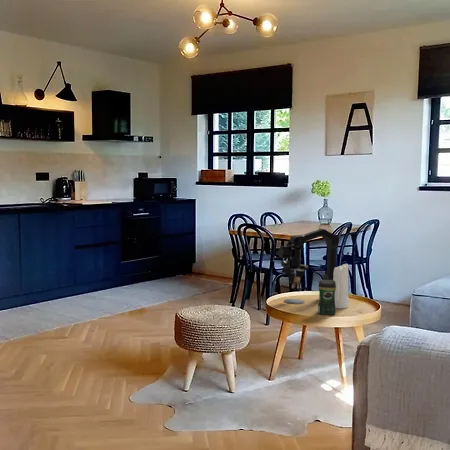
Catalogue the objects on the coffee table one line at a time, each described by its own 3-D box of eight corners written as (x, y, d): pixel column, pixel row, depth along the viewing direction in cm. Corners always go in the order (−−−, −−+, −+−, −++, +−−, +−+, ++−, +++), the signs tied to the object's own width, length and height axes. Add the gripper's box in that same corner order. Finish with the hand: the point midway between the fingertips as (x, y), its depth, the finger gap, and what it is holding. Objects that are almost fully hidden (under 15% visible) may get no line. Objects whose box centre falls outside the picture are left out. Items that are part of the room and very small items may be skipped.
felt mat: (308, 302, 331) (308, 301, 331) (296, 305, 322) (296, 304, 322) (292, 298, 339) (292, 297, 339) (280, 301, 331) (280, 300, 330)
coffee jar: (334, 312, 307) (335, 278, 306) (336, 315, 300) (337, 281, 298) (316, 311, 308) (317, 278, 306) (318, 315, 300) (319, 281, 299)
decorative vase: (327, 306, 319) (328, 263, 317) (332, 303, 329) (334, 261, 326) (345, 309, 314) (347, 265, 312) (350, 305, 324) (352, 263, 321)
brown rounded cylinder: (301, 287, 330) (302, 277, 329) (295, 289, 326) (295, 278, 325) (293, 286, 334) (294, 275, 334) (287, 287, 330) (287, 276, 329)
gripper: (294, 254, 340) (293, 279, 342) (274, 257, 327) (274, 283, 329) (309, 256, 333) (308, 282, 334) (289, 259, 319) (289, 286, 321)
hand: (294, 283), depth 330 cm, fingers closed on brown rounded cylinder, 6 cm apart
